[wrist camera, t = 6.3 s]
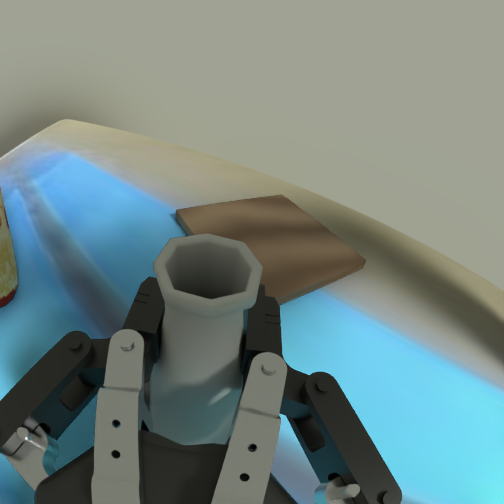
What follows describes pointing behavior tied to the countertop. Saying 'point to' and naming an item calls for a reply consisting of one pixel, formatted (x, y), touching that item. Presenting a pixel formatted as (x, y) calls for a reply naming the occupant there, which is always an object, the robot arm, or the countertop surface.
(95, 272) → the countertop surface
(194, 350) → the flask
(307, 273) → the walnut board
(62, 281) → the countertop surface
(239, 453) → the robot arm
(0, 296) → the food model
